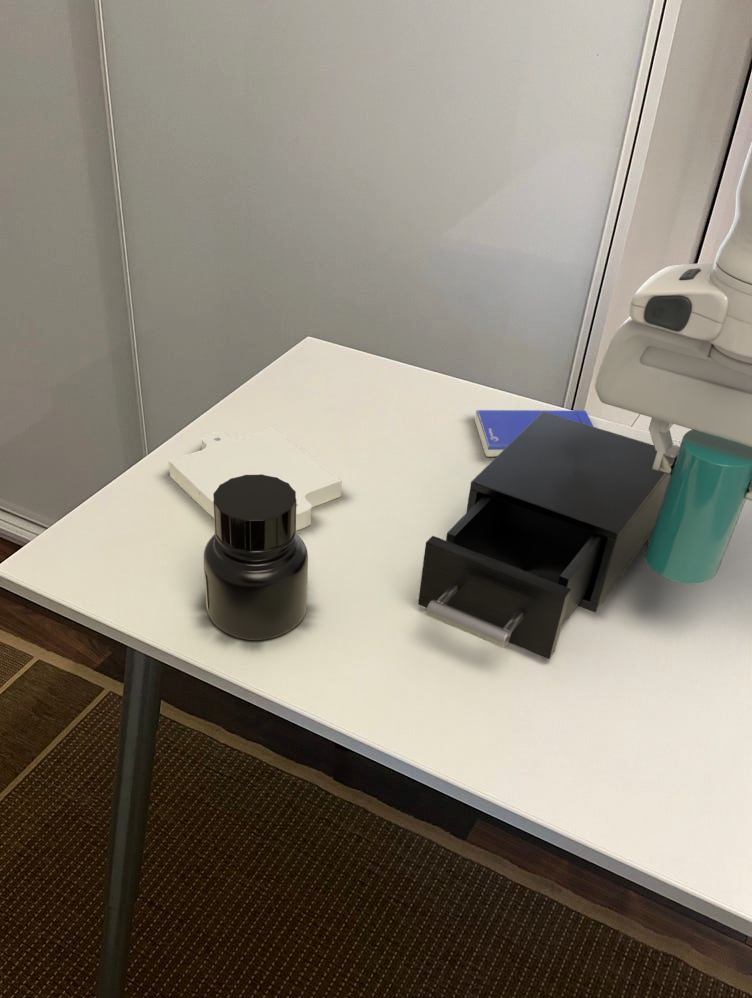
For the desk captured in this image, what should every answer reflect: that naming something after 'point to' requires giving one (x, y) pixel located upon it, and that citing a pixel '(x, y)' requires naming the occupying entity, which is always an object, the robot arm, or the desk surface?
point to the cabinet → (581, 487)
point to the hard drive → (513, 425)
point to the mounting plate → (255, 469)
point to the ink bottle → (255, 559)
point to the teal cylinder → (699, 508)
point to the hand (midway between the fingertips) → (708, 483)
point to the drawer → (509, 574)
